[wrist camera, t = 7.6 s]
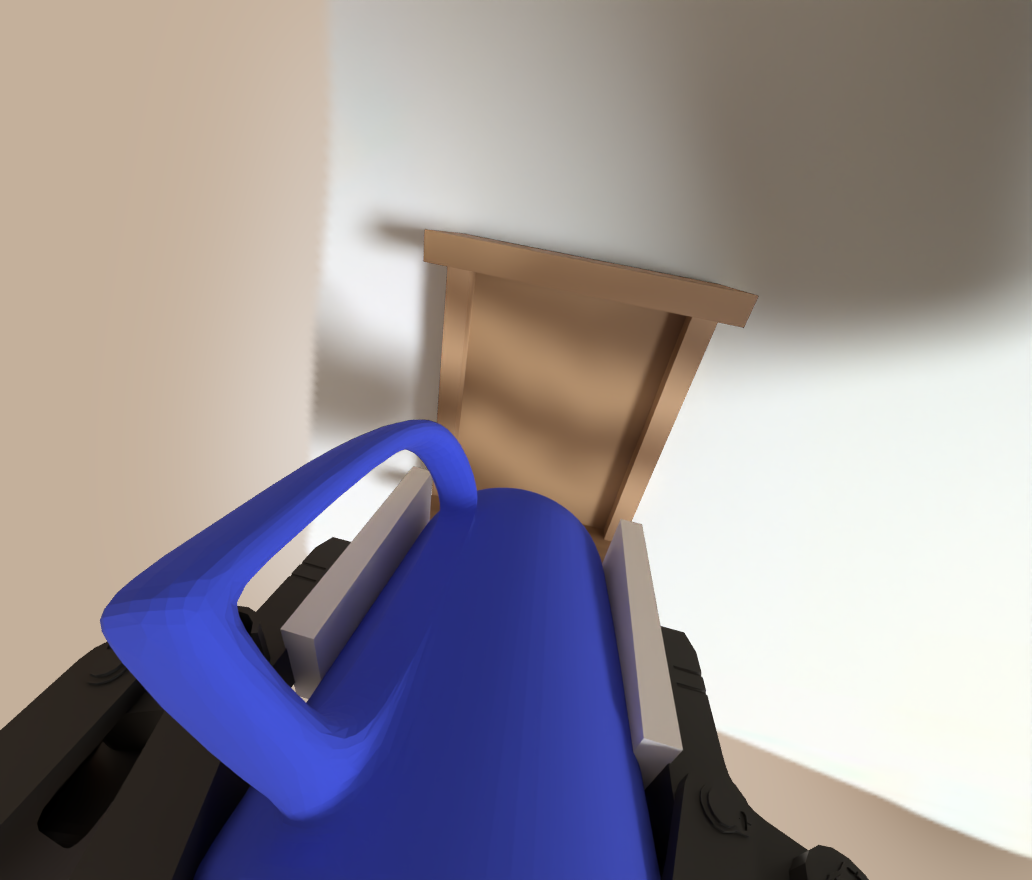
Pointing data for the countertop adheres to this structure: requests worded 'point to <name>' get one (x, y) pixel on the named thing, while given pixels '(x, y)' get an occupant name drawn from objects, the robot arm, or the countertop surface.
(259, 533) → the mug
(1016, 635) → the countertop surface
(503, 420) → the tray
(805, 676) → the countertop surface
